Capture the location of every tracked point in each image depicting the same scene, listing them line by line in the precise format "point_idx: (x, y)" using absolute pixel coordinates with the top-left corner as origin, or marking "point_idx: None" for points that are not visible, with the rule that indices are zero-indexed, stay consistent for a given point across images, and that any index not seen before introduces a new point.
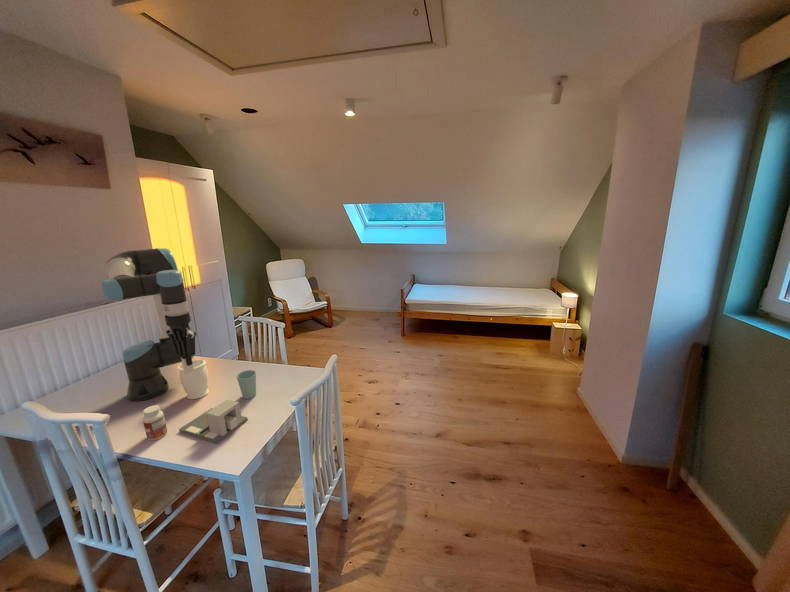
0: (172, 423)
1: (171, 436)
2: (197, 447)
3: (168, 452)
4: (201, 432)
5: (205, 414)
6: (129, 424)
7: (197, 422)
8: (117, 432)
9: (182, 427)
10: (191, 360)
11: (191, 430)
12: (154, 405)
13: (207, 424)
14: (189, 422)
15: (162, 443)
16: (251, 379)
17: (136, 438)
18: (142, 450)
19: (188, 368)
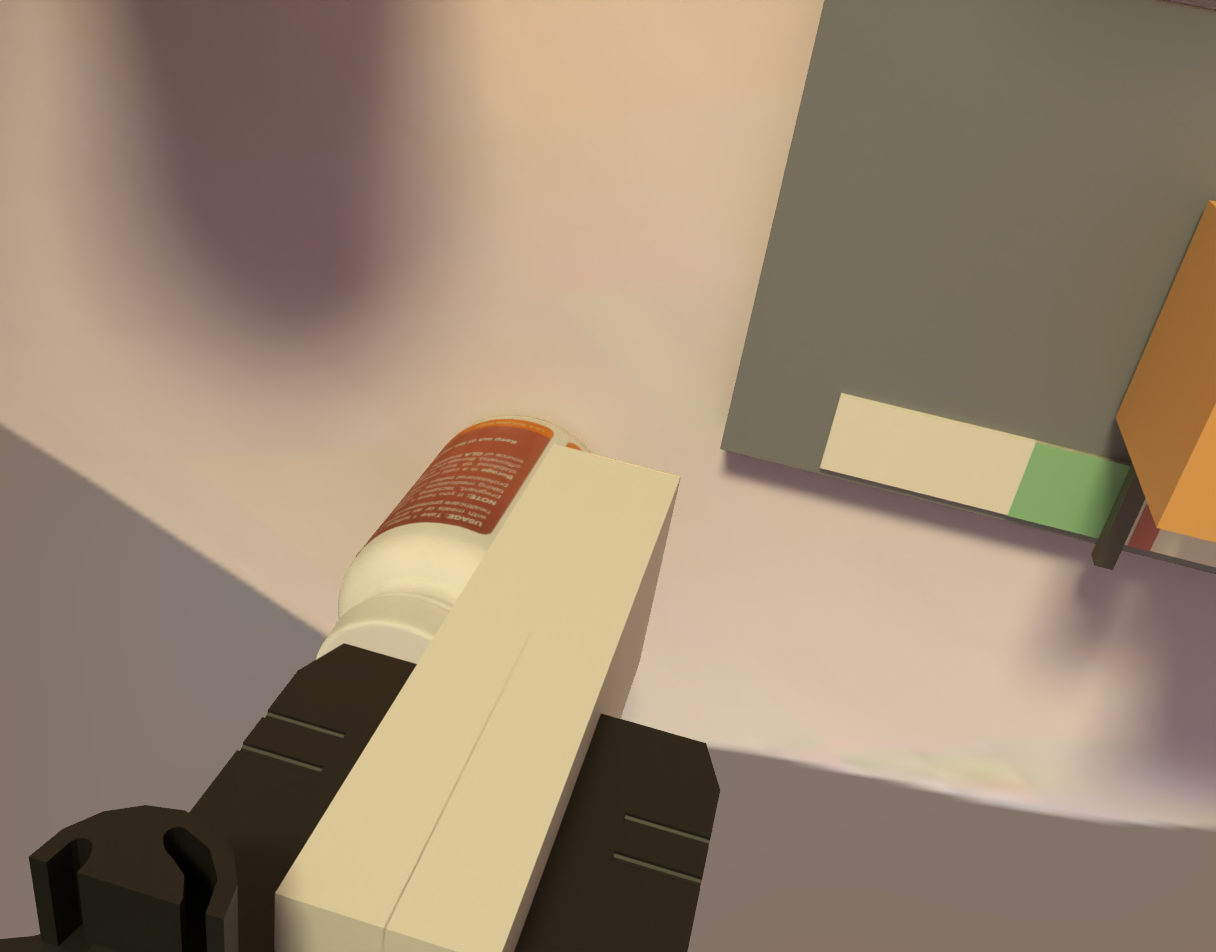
0: (502, 296)
1: (695, 502)
2: (1141, 644)
3: (865, 703)
4: (1117, 553)
5: (1155, 520)
6: (66, 355)
7: (866, 313)
8: (100, 474)
9: (738, 416)
10: (687, 910)
11: (911, 473)
12: (359, 630)
13: (1124, 439)
14: (751, 321)
15: (692, 597)
16: None
17: (364, 542)
18: None
19: (616, 711)
